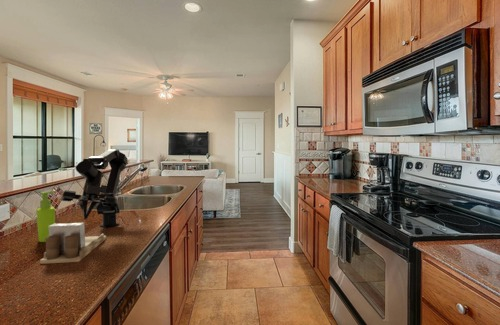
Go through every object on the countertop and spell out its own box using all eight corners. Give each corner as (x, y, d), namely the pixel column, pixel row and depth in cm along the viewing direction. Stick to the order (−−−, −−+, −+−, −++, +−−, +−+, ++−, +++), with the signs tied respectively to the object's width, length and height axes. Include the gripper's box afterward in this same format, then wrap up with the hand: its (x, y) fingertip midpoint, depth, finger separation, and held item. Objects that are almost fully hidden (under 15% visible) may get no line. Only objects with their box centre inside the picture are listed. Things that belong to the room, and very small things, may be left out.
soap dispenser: (62, 237, 111) (59, 191, 110) (44, 242, 105) (42, 193, 103) (52, 235, 113) (50, 190, 112) (35, 241, 107) (32, 193, 105)
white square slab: (55, 251, 93) (54, 223, 92) (85, 249, 94) (84, 222, 93) (50, 254, 90) (48, 226, 89) (81, 253, 91) (79, 225, 91)
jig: (75, 239, 108) (74, 220, 107) (106, 238, 110) (105, 219, 109) (40, 263, 86) (38, 239, 86) (78, 261, 88) (77, 237, 87)
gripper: (70, 171, 100) (59, 211, 93) (121, 180, 111) (115, 216, 104) (66, 181, 108) (56, 218, 101) (114, 189, 118) (108, 223, 112)
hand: (85, 219), depth 104 cm, fingers closed
